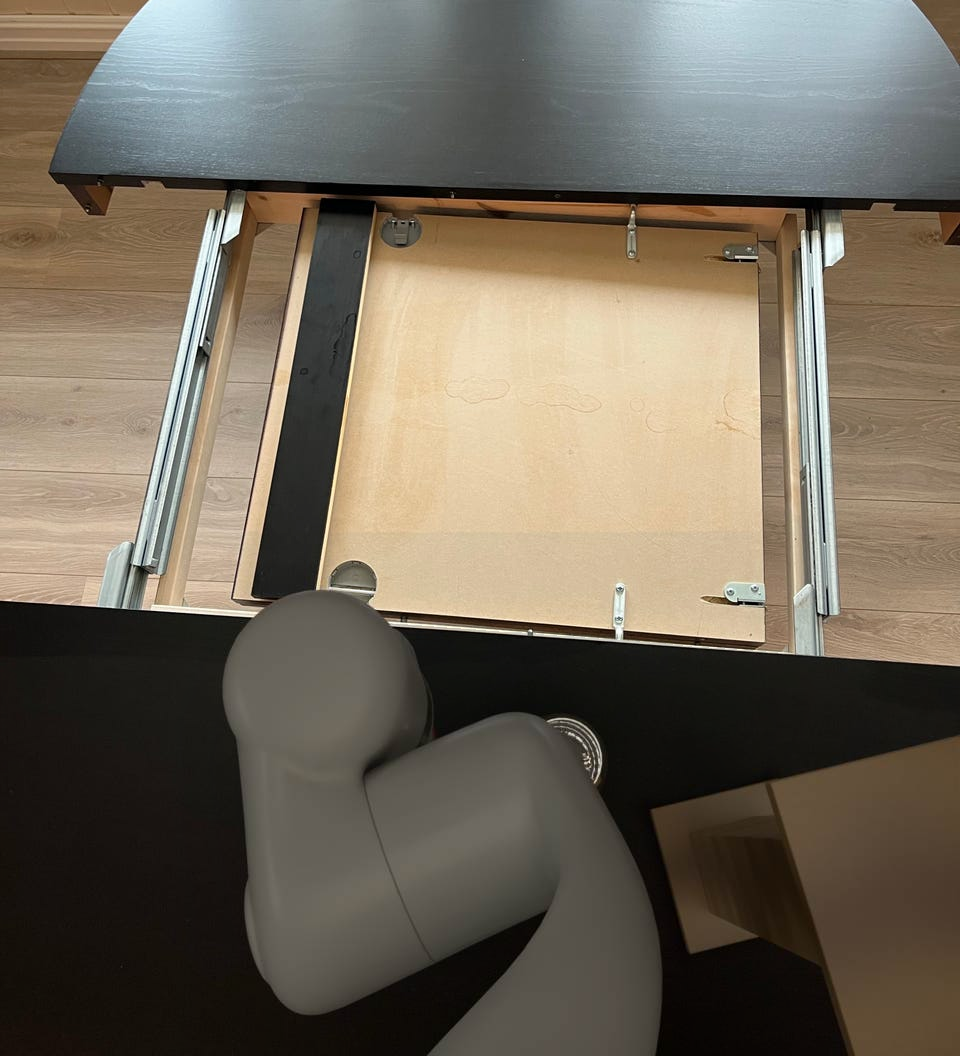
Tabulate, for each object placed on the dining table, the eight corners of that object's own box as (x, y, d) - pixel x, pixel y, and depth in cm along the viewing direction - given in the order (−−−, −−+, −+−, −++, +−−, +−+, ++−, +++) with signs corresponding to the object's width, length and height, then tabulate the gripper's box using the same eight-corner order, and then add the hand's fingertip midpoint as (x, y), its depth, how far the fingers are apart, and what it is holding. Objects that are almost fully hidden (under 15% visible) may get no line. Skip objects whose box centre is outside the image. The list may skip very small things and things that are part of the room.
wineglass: (502, 743, 74) (499, 729, 63) (578, 712, 75) (588, 693, 64) (533, 825, 72) (535, 826, 61) (610, 793, 73) (627, 788, 62)
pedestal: (829, 925, 69) (1203, 1051, 31) (681, 962, 69) (879, 1136, 31) (780, 769, 73) (1062, 710, 35) (639, 803, 73) (769, 781, 34)
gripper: (466, 876, 50) (483, 868, 66) (397, 533, 56) (428, 605, 73) (309, 915, 49) (365, 897, 66) (257, 565, 56) (321, 630, 72)
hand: (398, 744), depth 69 cm, fingers closed on block, 5 cm apart
